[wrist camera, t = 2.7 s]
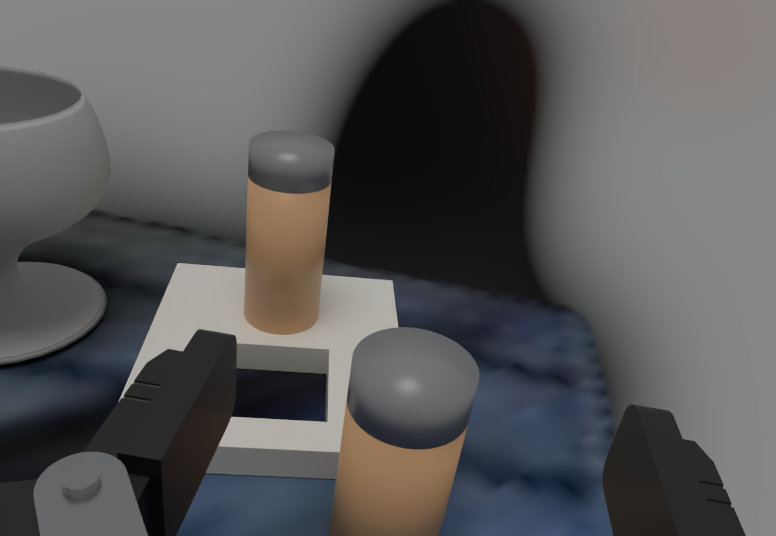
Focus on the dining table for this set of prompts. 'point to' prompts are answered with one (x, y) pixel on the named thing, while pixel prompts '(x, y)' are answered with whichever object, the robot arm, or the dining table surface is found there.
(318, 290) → the white board with post
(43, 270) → the chalice
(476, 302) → the dining table surface
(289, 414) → the dining table surface
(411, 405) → the grey-capped tan peg
